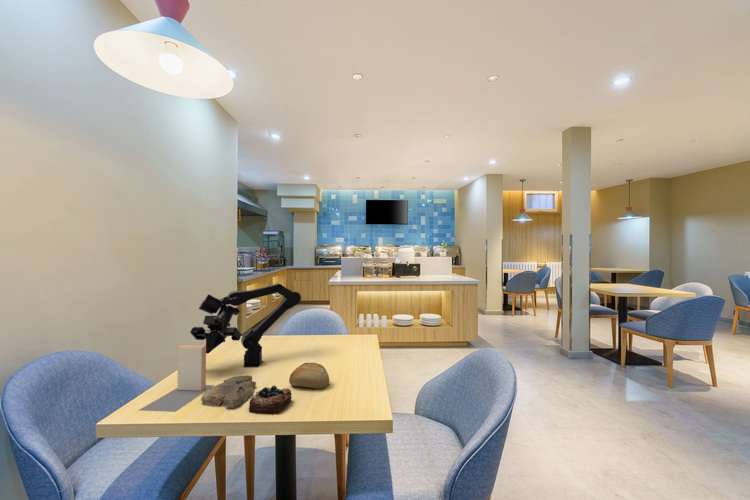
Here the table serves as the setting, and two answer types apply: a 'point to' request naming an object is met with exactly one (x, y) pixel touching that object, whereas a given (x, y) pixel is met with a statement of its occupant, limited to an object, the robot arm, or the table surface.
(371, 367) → the table surface
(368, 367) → the table surface
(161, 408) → the mat
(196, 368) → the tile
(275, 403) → the pastry
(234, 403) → the flat grey rock
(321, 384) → the bread roll
